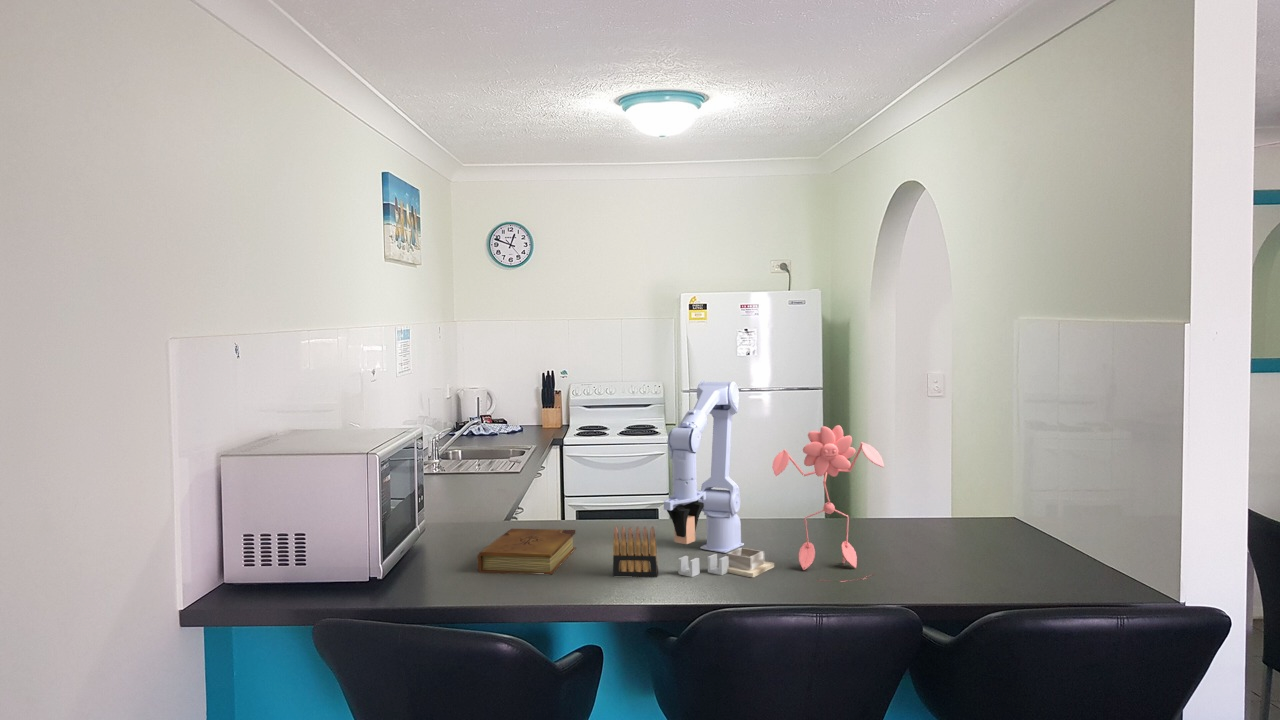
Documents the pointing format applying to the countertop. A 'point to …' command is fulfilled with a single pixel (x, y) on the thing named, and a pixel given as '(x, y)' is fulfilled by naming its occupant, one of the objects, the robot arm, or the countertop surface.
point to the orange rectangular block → (687, 532)
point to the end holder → (747, 562)
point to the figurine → (831, 458)
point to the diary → (527, 551)
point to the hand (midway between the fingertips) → (686, 534)
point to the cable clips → (694, 569)
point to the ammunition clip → (634, 554)
